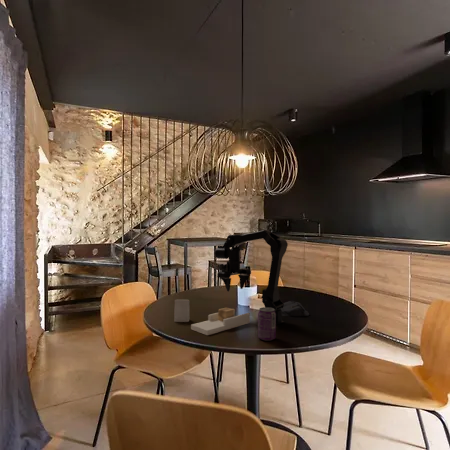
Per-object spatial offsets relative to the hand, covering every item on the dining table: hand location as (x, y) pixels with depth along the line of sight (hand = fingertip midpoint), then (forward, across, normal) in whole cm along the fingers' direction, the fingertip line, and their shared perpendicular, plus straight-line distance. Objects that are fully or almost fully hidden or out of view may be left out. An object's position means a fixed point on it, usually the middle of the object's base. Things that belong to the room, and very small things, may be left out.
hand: (234, 290), depth 173 cm
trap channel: (+13, +17, +9) cm, 23 cm away
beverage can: (+14, +15, +34) cm, 39 cm away
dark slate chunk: (+14, -29, +14) cm, 35 cm away
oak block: (+11, +14, +9) cm, 20 cm away
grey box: (+12, +26, -10) cm, 30 cm away
